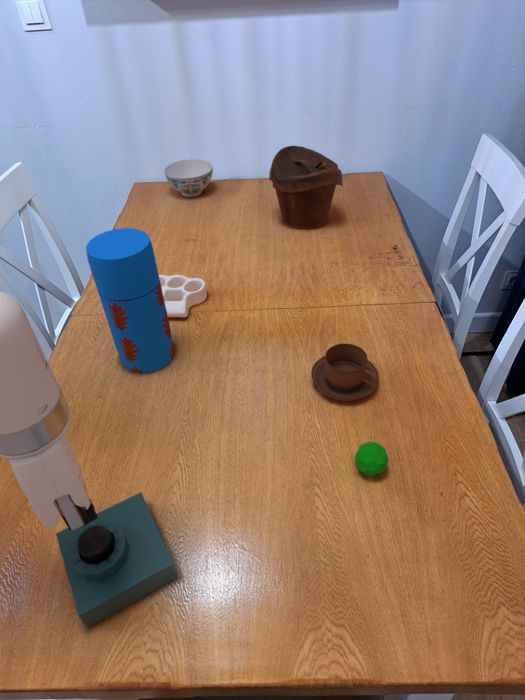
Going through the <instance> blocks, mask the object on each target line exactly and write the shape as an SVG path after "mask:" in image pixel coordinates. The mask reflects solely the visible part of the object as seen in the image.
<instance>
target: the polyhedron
mask: <svg viewBox="0 0 525 700" xmlns="http://www.w3.org/2000/svg"><path fill="white" fill-rule="evenodd" d="M354 460H355V465H356V468H357V469H358V470H359V471H360V472H361V473H363V474H364V475H366V476H370V477H375V476H377V475H379V474H381V473H383V472H384V471H385V470H386V468H387V466H388V464H389V461H390V459H389V456H388V453H387V450H386V448H385V447H384V446H383V445H381V444H380V443H378V442H375V441H367V442H365V443H363V444H360V445H359V446H358V449H357V450H356V453H355V455H354Z"/></svg>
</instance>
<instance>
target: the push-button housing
mask: <svg viewBox="0 0 525 700" xmlns="http://www.w3.org/2000/svg"><path fill="white" fill-rule="evenodd" d="M96 514H97V519H96V520H94V521H92V522H90V523H89V524H87V525H86V526H84V527H82V528H78V529H76V530H74V531H70V529H69V528H68V527H66V528H64V529H63V530H61V531H58V532H56V533H55V535H56V539H57V543H58V547H59V550H60V555H61V557H62V561H63V565H64V569H65V572H66V575H67V580H68V583H69V587H70V590H71V594H72V597H73V601H74V603H75V605H74V606H75V608H76V612H77V615H78V617H79V618H80V620H81V621H82V623H83V624H84V625H85V626H86V627H87V629H89V628H91V627H93V626H94V625H96V624H98V623H100V622H101V621H104V620H105V619H107V618H108V617H111V616H112V615H114V614H116V613H117V612H119V611H121V610H123V609H124V608H126V607H128V606H130V605H131V604H133V603H135V602H137V601H139V600H140V599H142V598H143V597H145V596H147V595H149V594H151V593H153V592H155V591H156V590H158V589H159V588H161V587H163V586H165V585H167V584H169V583H171V582H172V581H175V579H178V577H179V576H178V572H177V569H176V567H175V564H174V562H173V559H172V557H171V555H170V552H169V550H168V549H167V546H166V544H165V541H164V540H163V536H162V535H161V533H160V530H159V529H158V526H157V524H156V522H155V519H154V517H153V515H152V513H151V511H150V508H149V506H148V504H147V502H146V499H145V497H144V495H143V492H142V491H140V492H137V493H136V494H134V495H131V496H130V497H127V498H125V499H124V500H122V501H120V502H118V503H116V504H113V505H111V506H110V507H108V508H105V509H103V510H101V511H99V512H96ZM95 525H101V526H104V527H106V528H107V529H108V530H109V532H110V534H111V536H112V538H113V540H114V548H113V551H112V553H111V554H110V556H109V557H108V558H107V559H105V560H104V561H102V562H99V563H89V562H87V561H85V560H84V558H83V557H82V555H81V553H80V552H79V550H78V547H77V543H78V539H79V537H80V535H81V534H82V533H83V532H84V531H85V530H86V529H88V528H89V527H92V526H95Z"/></svg>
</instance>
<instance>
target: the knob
mask: <svg viewBox="0 0 525 700" xmlns="http://www.w3.org/2000/svg"><path fill="white" fill-rule="evenodd" d="M77 547H78V550H79V552H80V553H81V555H82V557H83V558H84V560H85V561H87V562H89V563H99V562H102V561H104V560H105V559H107V558H108V557H109V556H110V554H111V553H112V551H113V548H114V540H113V538H112V536H111V534H110V532H109V530H108V529H107V528H106V527H104V526H101V525H95V526H92V527H89V528H88V529H86V530H85V531H84V532H83V533H82V534H81V535H80V537H79V539H78V543H77Z"/></svg>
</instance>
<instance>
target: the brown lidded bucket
mask: <svg viewBox="0 0 525 700" xmlns="http://www.w3.org/2000/svg"><path fill="white" fill-rule="evenodd" d="M271 162H272V163H271V166H270V169H269V175H268V180H269V181H271V182H272V188H274V190H275V194H276V197H277V202H278V206H279V210H280V215H281V219H282V222H283V223H285V225H286V226H287V227H289V228H293V229H298V230H299V229H301V230H310V229H311V230H312V229H316V228H319V227H322V226H323V225H324V224H325V223H326V222H327V220H328V217H329V213H330V211H331V205H332V202H333V198H334V196H335V191H336V188H337V185H338V186H342V187H344V183H343V182H344V181H343V172H342V170H341V169H340V168H339V165H338V164H337V163H336V162H335V161H333V160H332V159H330V158H329V157H328V156H326V155H324V154H322V153H320V152H318V151H316V150H314V149H310V148H307V147H304V146H299V145H287V146H285V147H282V148H281V149H279V150H278V151H277V153H276V154H275V155H274V157H273V159H272V161H271Z"/></svg>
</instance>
